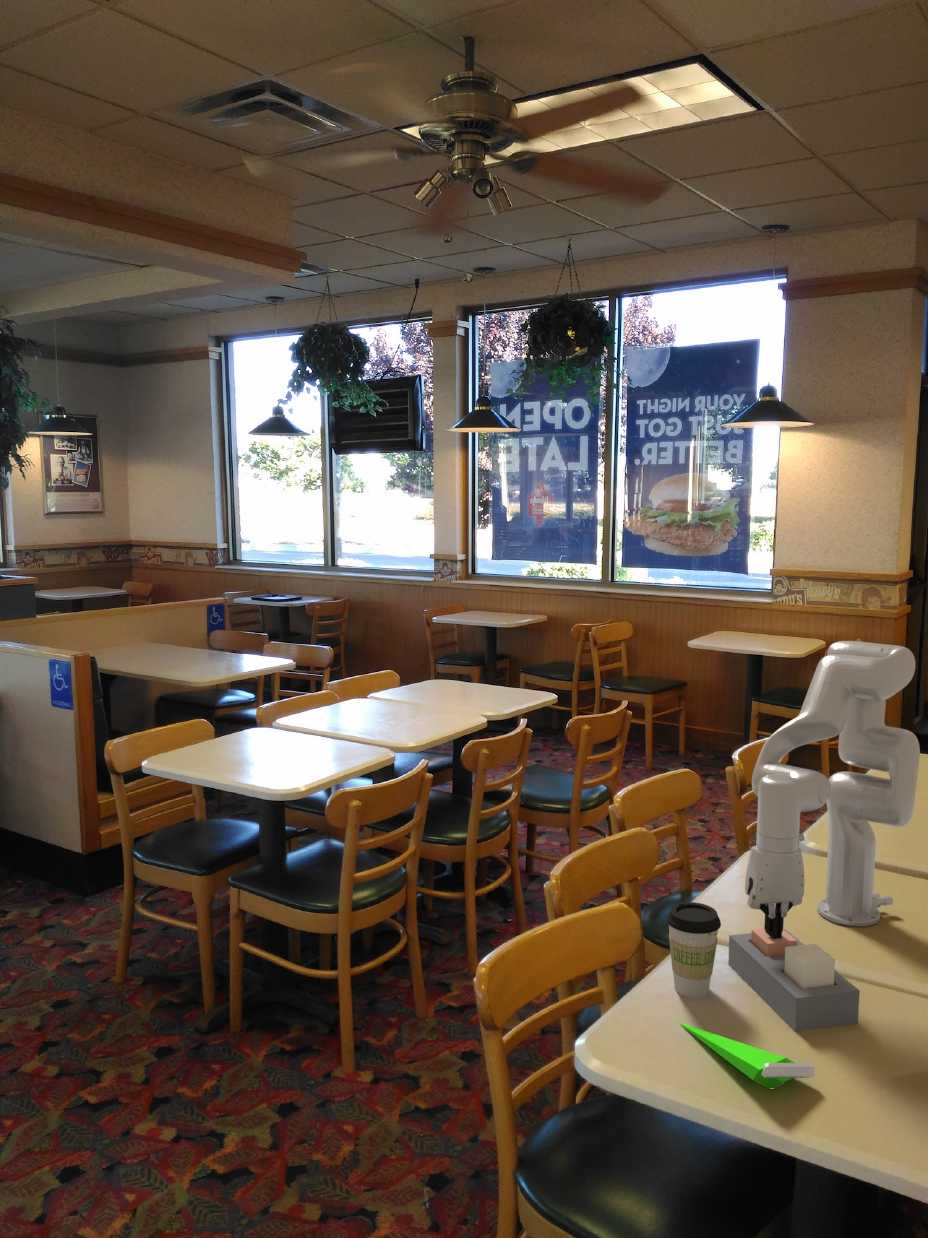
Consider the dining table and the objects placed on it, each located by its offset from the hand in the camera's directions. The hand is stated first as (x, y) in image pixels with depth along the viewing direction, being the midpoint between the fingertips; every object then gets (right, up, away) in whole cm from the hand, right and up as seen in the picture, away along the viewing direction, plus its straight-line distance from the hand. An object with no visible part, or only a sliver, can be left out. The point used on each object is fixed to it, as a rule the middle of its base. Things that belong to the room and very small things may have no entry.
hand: (773, 935), depth 181 cm
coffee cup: (-16, -9, -3) cm, 19 cm away
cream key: (+3, -5, -11) cm, 12 cm away
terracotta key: (0, -6, +1) cm, 6 cm away
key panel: (+1, -9, -5) cm, 10 cm away
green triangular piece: (-15, -12, -27) cm, 33 cm away
